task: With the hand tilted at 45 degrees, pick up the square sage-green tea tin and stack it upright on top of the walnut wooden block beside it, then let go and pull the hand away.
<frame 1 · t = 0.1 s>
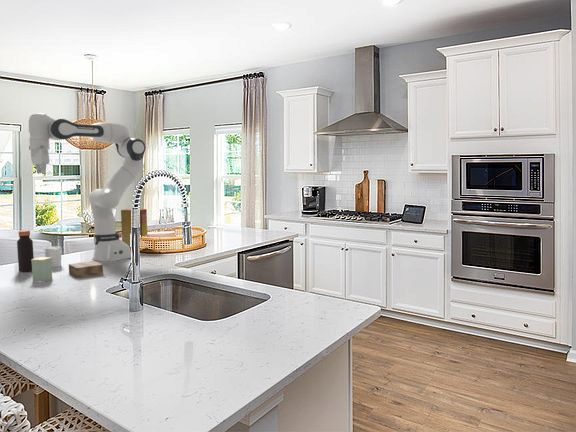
hand: (41, 173, 239), 48 cm above the counter, tool pointing down, fingers open, 8 cm apart
walnut block: (86, 274, 227), on the counter
bottle: (26, 271, 234), on the counter
food packaging: (135, 249, 296), on the counter
tin: (42, 280, 214), on the counter
white cup: (53, 267, 244), on the counter
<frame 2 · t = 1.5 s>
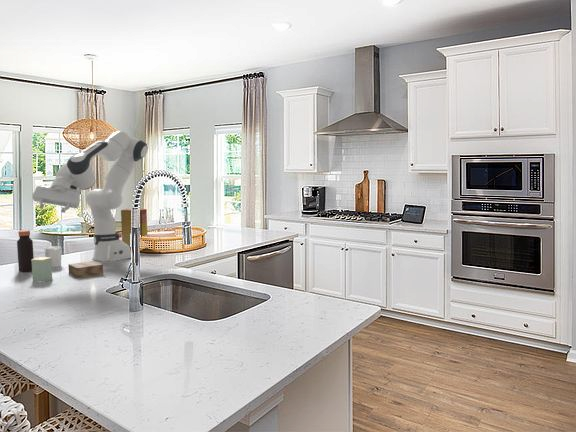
hand: (52, 209, 218), 31 cm above the counter, tool tilted 50°, fingers open, 8 cm apart
nothing on the counter moved.
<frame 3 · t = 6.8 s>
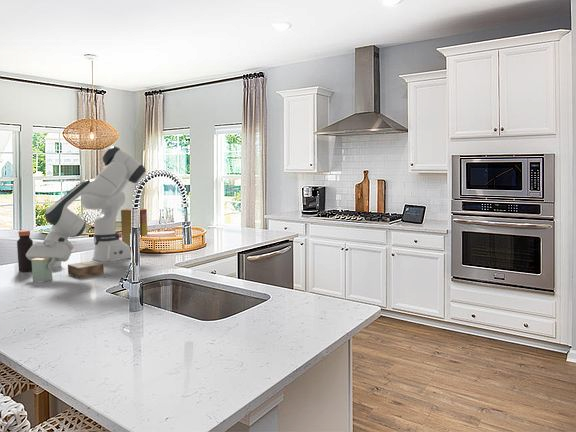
hand: (40, 267, 213), 6 cm above the counter, tool tilted 45°, fingers closed on tin, 6 cm apart
tin: (42, 280, 214), on the counter, touching gripper
everything else where it was.
when the fingers open (11 cm above the counter, at t = 12.8 s): tin stays where it is, resting on walnut block.
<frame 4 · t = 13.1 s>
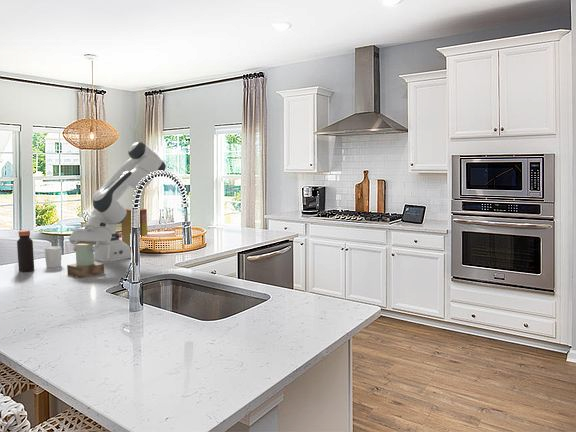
hand: (84, 250, 225), 11 cm above the counter, tool tilted 45°, fingers open, 8 cm apart
walnut block: (86, 274, 227), on the counter, touching tin
tin: (85, 264, 226), point 5 cm above the counter, touching walnut block
everything else where it was.
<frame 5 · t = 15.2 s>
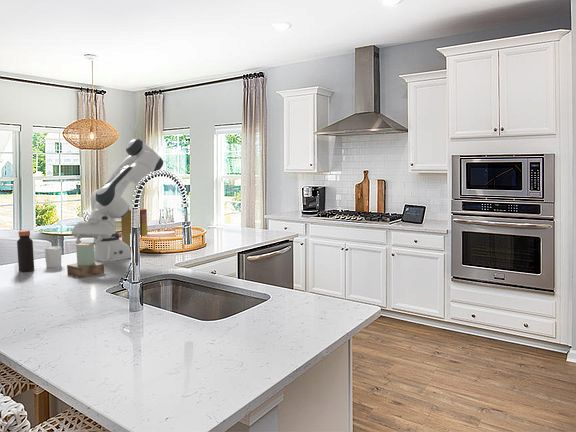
hand: (86, 243, 227), 14 cm above the counter, tool tilted 45°, fingers open, 8 cm apart
walnut block: (86, 274, 227), on the counter
tin: (86, 264, 226), point 5 cm above the counter
everything else where it was.
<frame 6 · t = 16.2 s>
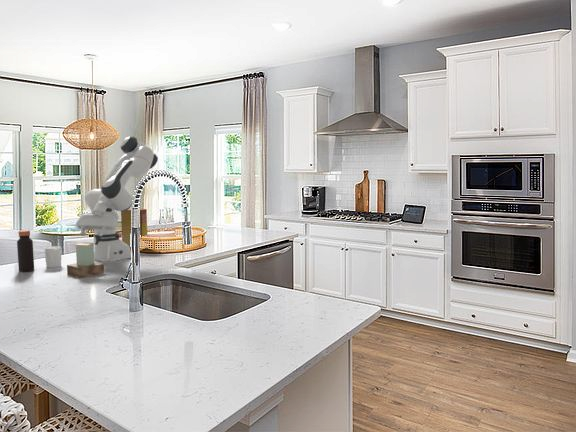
hand: (90, 235, 230), 18 cm above the counter, tool tilted 45°, fingers open, 8 cm apart
walnut block: (85, 274, 227), on the counter, touching tin
tin: (85, 264, 226), point 5 cm above the counter, touching walnut block
everything else where it was.
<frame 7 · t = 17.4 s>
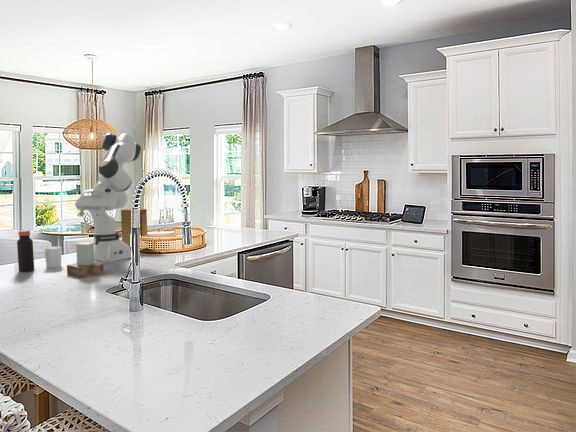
hand: (89, 215, 230), 28 cm above the counter, tool tilted 45°, fingers open, 8 cm apart
walnut block: (85, 274, 227), on the counter
tin: (85, 264, 226), point 5 cm above the counter
everything else where it was.
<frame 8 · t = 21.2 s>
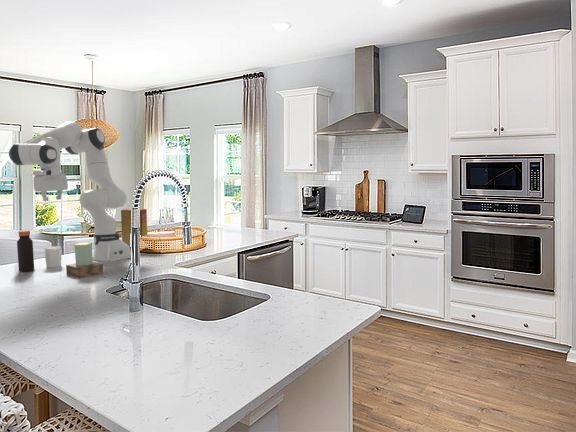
hand: (52, 200, 229), 35 cm above the counter, tool pointing down, fingers open, 8 cm apart
walnut block: (85, 274, 226), on the counter, touching tin
tin: (84, 264, 226), point 5 cm above the counter, touching walnut block
everything else where it was.
at the end: tin inside the target area on the walnut block (0.0 cm from its centre), point 5.1 cm above the walnut block's base; tin tilted 1°; the gripper is holding nothing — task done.
